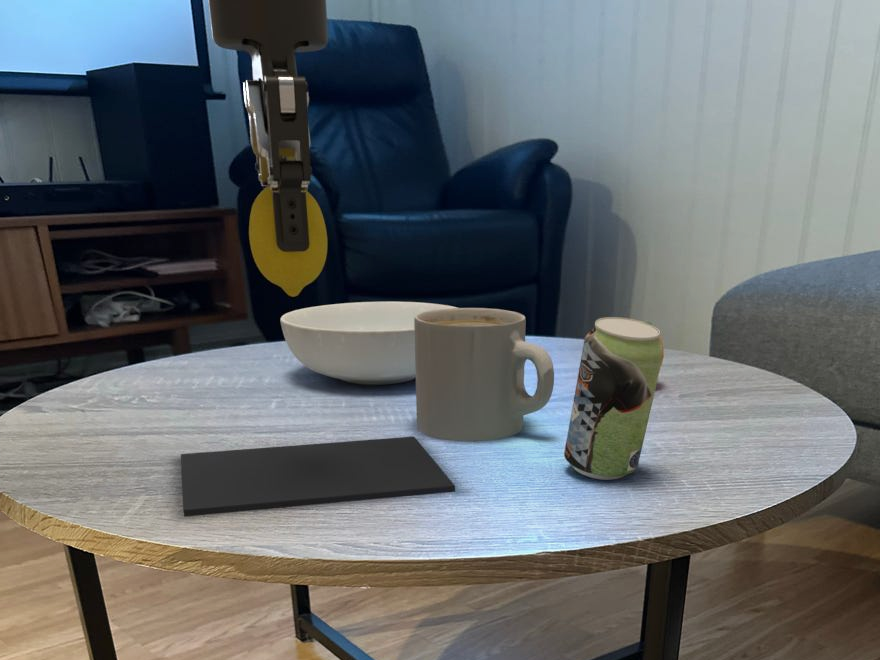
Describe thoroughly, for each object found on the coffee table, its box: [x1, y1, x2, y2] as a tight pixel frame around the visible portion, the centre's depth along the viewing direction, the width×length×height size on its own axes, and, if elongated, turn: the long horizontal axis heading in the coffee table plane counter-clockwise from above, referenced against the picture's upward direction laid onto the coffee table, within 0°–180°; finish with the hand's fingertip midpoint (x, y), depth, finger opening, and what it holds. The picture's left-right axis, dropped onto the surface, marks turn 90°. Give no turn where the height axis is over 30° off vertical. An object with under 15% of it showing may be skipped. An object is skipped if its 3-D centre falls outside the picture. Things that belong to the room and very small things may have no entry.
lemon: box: [248, 186, 328, 298], centre depth 68 cm, size 6×6×8 cm
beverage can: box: [563, 316, 664, 481], centre depth 73 cm, size 6×7×12 cm
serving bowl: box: [279, 301, 458, 386], centre depth 105 cm, size 21×21×7 cm
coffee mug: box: [414, 307, 555, 442], centre depth 85 cm, size 13×10×10 cm
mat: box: [180, 436, 456, 517], centre depth 75 cm, size 20×14×1 cm
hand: (288, 245), depth 68 cm, fingers closed on lemon, 5 cm apart
